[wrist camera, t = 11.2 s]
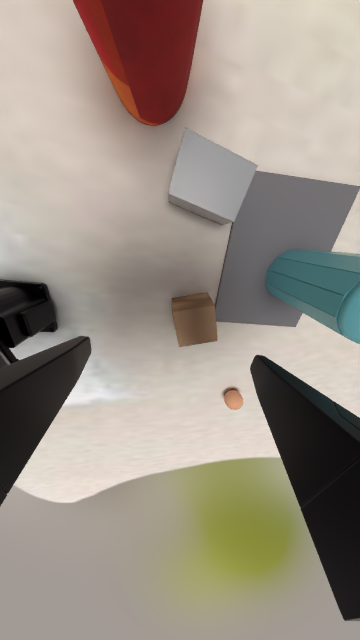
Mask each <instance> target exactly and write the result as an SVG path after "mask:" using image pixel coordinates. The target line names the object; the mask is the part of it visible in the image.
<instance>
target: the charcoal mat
mask: <svg viewBox="0 0 360 640" xmlns="http://www.w3.org/2000/svg"><path fill="white" fill-rule="evenodd" d="M359 189H360V186H354V185H347V184H341V183H334V182H327V181H321V180H314V179H307V178H301V177H294V176H288V175H281V174H274V173H268V172H261V171H255V174H254V176H253V178H252V181H251V183H250V185H249V188H248V190H247V192H246V195H245V197H244V199H243V202H242V204H241V207H240V209H239V211H238V214H237V216H236V218H235V221H234V222H232V227H231V232H230V237H229V242H228V246H227V251H226V256H225V261H224V266H223V271H222V275H221V280H220V285H219V290H218V295H217V300H216V304H215V315H216V321H219V322H233V323H247V324H261V325H275V326H289V327H296V325H297V323H298V321H299V319H300V317H301V315H302V312H301V311H299V310H297V309H296V308H294V307H292V306H291V305H289V304H287V303H285V302H284V301H282V300H280V299H278V298H277V297H275V296H273V295H272V294H270V293H269V292H268V289H267V286H266V284H265V280H266V275H267V270H268V268H269V267H270V266H271V264H272V263H273V262H274V260H275V259H276V258H277V257H278V256H280V255H281V254H283V253H285V252H286V251H288V250H290V249H309V250H320V251H331V250H332V248H333V245H334V243H335V241H336V239H337V237H338V235H339V232H340V230H341V228H342V226H343V224H344V222H345V219H346V217H347V215H348V213H349V211H350V209H351V206H352V204H353V202H354V200H355V198H356V196H357V194H358V191H359Z"/></svg>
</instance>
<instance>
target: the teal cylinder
mask: <svg viewBox="0 0 360 640" xmlns="http://www.w3.org/2000/svg"><path fill="white" fill-rule="evenodd" d="M265 284H266V286H267V289H268V292H269V293H270V294H272V295H273V296H275V297H277V298H278V299H280V300H282V301H284V302H285V303H287V304H289V305H291V306H292V307H294V308H296V309H297V310H299V311H301V312H303V313H304V314H306V315H308V316H310V317H311V318H313V319H315V320H316V321H318V322H320V323H322V324H323V325H325V326H327V327H329V328H330V329H332V330H334V331H336V332H337V333H339V334H341V335H342V336H344V337H346V338H348V339H349V340H351V341H354V342H356V343H358V344H360V254H353V253H342V252H331V251H320V250H309V249H290V250H288V251H286V252H285V253H283V254H281V255H280V256H278V257H277V258H276V259H275V260H274V262H273V263H272V264H271V266H270V267H269V268H268V270H267V275H266V280H265Z"/></svg>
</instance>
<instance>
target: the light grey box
mask: <svg viewBox="0 0 360 640" xmlns="http://www.w3.org/2000/svg"><path fill="white" fill-rule="evenodd" d="M257 166H258V165H256V164H254V163H253V162H251V161H249V160H247V159H245V158H243V157H241V156H239V155H237V154H235V153H233V152H231V151H230V150H228V149H226V148H224V147H222V146H220V145H218V144H216V143H214V142H212V141H210V140H208V139H206V138H205V137H203V136H201V135H199V134H197V133H195V132H193V131H191V130H189V129H187V128H185V130H184V134H183V138H182V142H181V145H180V149H179V153H178V157H177V161H176V165H175V169H174V172H173V176H172V180H171V184H170V188H169V192H168V197H169V202H170V203H172V204H175V205H177V206H179V207H182V208H184V209H186V210H189V211H191V212H193V213H196V214H198V215H200V216H203V217H205V218H207V219H210V220H212V221H215V222H217V223H219V224H222V225H223V224H227V223H231V222H234V221H235V218H236V216H237V214H238V211H239V209H240V207H241V204H242V202H243V199H244V197H245V195H246V192H247V190H248V188H249V185H250V183H251V181H252V178H253V176H254V174H255V171H256V169H257Z"/></svg>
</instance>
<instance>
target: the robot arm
mask: <svg viewBox="0 0 360 640" xmlns="http://www.w3.org/2000/svg"><path fill="white" fill-rule="evenodd" d="M40 286H41V287H42V288H43V289H41V287H40ZM51 327H52V328H53V329H52V328H51ZM56 330H57V325H56V321H55V315H54V311H53V308H52V304H51V301H50V297H49V293H48V289H47V286H46V285H45V284H43V283H34V282H22V281H10V280H0V506H1V504H2V503H3V501H4V499H5V498H6V496H7V493H9V491H10V489H11V488H12V486H13V485H14V483H15V481H16V480H17V478H18V476H19V475H20V473H21V472H22V470H23V468H24V467H25V465H26V464H27V462H28V460H29V459H30V457H31V455H32V454H33V452H34V451H35V449H36V447H37V446H38V444H39V442H40V441H41V439H42V438H43V436H44V434H45V433H46V431H47V430H48V428H49V426H50V425H51V423H52V421H53V420H54V418H55V417H56V415H57V413H58V412H59V410H60V409H61V407H62V405H63V404H64V402H65V400H66V399H67V397H68V396H69V394H70V392H71V391H72V389H73V388H74V386H75V384H76V383H77V381H78V379H79V377H80V375H81V373H82V371H83V369H84V367H85V365H86V363H87V360H88V358H89V356H90V354H91V343H90V338H89V337H86V336H79V337H77V338H74V339H72V340H69V341H67V342H64V343H62V344H59V345H57V346H54V347H52V348H49V349H47V350H44V351H42V352H39V353H37V354H34V355H32V356H29V357H27V358H24V359H22V360H19V359H16V357H15V356H14V354H13V353H12V352H11V350H10V349H9V348H14V347H16V346H17V345H19V344H20V343H22V342H23V341H24V340H26V339H27V338H29V337H32V336H34V335H35V334H37V333H38V332H39V331H40V332H55V331H56ZM250 370H251V374H252V378H253V382H254V385H255V389H256V393H257V396H258V399H259V401H260V404H261V407H262V409H263V412H264V414H265V417H266V420H267V422H268V425H269V427H270V430H271V433H272V435H273V438H274V440H275V443H276V446H277V448H278V451H279V453H280V456H281V459H282V461H283V464H284V466H285V469H286V471H287V474H288V477H289V479H290V482H291V485H292V487H293V490H294V492H295V495H296V498H297V500H298V503H299V505H300V507H301V511H302V514H303V516H304V519H305V521H306V524H307V527H308V529H309V532H310V534H311V537H312V540H313V542H314V545H315V547H316V550H317V552H318V555H319V558H320V560H321V563H322V566H323V568H324V571H325V573H326V576H327V578H328V581H329V584H330V586H331V589H332V591H333V594H334V597H335V599H336V602H337V605H338V607H339V609H340V612H341V614H342V616H343V619H344V620H345V621H360V418H359V417H357V416H356V415H354V414H353V413H351V412H350V411H348V410H346V409H345V408H343V407H342V406H340V405H339V404H337V403H336V402H334V401H332V400H331V399H329V398H328V397H326V396H325V395H323V394H322V393H320V392H319V391H317V390H316V389H314V388H313V387H311V386H309V385H308V384H306V383H305V382H303V381H302V380H300V379H299V378H297V377H296V376H294V375H293V374H291V373H289V372H288V371H286V370H285V369H283V368H282V367H280V366H279V365H277V364H276V363H274V362H273V361H271V360H269V359H268V358H266V357H265V356H262V355H256V356H255V357H254V359H253V362H252V364H251V367H250Z"/></svg>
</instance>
